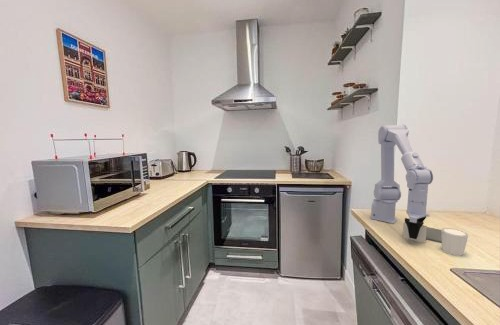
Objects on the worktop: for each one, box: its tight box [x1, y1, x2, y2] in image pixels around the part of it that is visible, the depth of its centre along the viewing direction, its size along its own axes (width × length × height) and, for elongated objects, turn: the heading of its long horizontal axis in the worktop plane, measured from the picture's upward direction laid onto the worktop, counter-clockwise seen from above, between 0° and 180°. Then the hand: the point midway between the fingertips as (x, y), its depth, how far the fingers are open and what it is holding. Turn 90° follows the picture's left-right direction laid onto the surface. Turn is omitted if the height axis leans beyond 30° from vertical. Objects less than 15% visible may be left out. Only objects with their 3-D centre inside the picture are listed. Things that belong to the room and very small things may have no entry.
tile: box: [402, 221, 428, 244], centre depth 86 cm, size 7×2×6 cm, turn 47°
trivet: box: [426, 226, 442, 244], centre depth 89 cm, size 13×13×1 cm
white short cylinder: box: [440, 227, 469, 257], centre depth 77 cm, size 7×7×7 cm
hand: (414, 235), depth 86 cm, fingers open, 6 cm apart
